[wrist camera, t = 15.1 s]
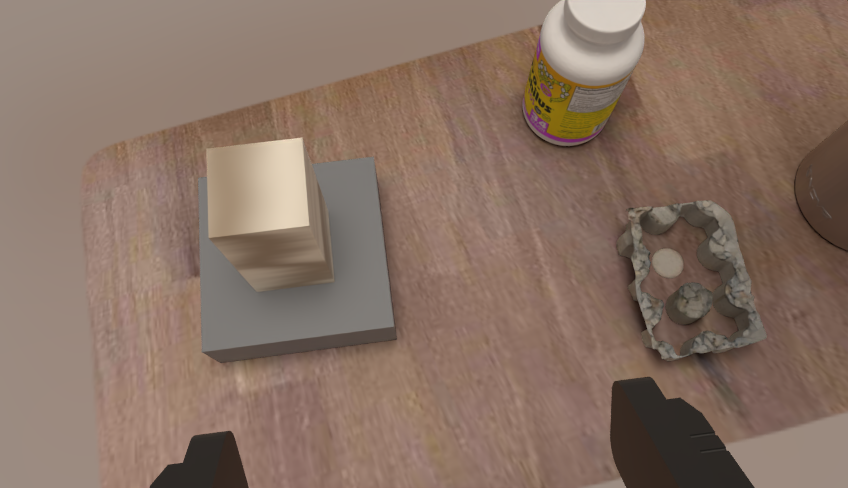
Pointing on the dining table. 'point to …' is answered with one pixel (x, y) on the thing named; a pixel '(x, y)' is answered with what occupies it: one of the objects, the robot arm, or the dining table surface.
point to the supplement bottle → (582, 67)
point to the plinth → (307, 305)
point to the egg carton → (692, 297)
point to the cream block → (269, 214)
